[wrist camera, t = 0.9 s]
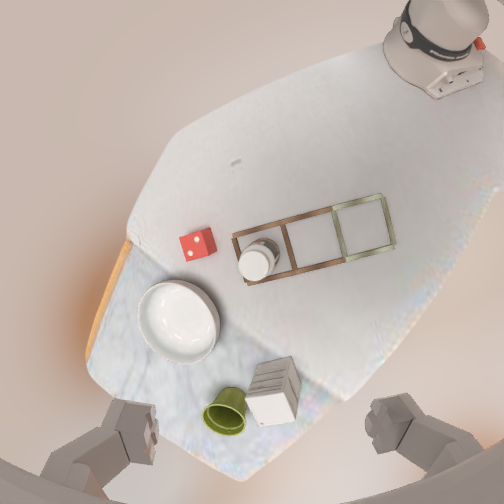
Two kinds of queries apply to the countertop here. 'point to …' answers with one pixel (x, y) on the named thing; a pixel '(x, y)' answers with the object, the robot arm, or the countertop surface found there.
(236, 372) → the countertop surface
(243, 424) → the plant pot
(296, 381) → the supplement box
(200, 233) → the red die
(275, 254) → the pill bottle
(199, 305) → the cereal bowl
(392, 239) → the track frame
